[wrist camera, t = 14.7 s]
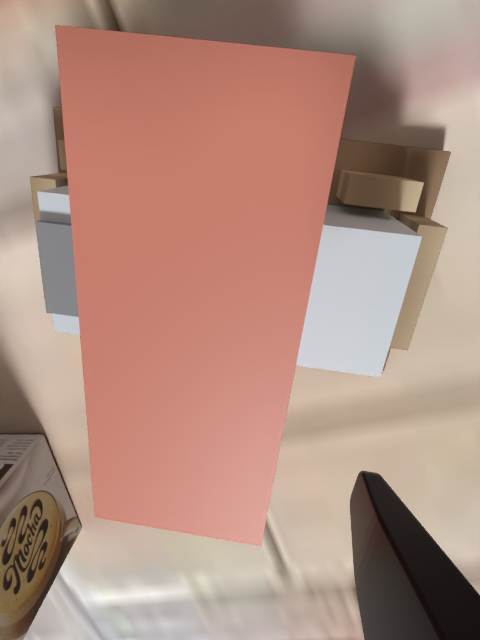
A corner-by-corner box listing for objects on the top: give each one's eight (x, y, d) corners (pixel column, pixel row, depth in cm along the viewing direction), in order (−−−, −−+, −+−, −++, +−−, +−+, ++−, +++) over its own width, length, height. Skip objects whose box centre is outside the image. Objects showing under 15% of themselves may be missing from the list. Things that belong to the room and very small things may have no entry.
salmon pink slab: (267, 439, 15) (260, 546, 11) (145, 419, 16) (94, 517, 11) (328, 91, 10) (355, 55, 6) (145, 71, 10) (55, 25, 6)
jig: (443, 151, 16) (481, 152, 13) (380, 362, 20) (396, 401, 17) (63, 108, 16) (13, 100, 13) (80, 319, 21) (45, 348, 18)
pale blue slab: (383, 210, 16) (425, 239, 11) (356, 319, 18) (382, 381, 13) (104, 179, 17) (31, 192, 12) (110, 286, 19) (49, 335, 14)
